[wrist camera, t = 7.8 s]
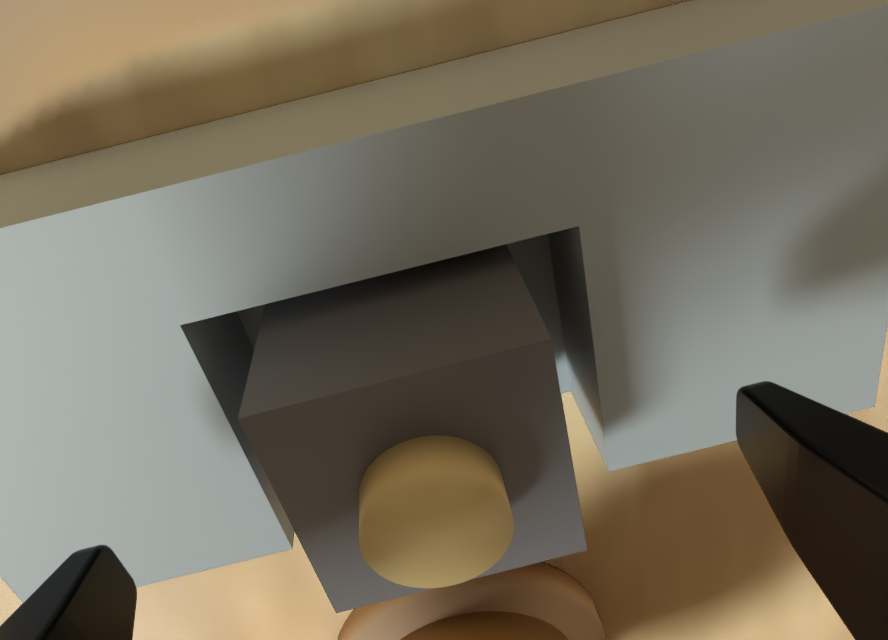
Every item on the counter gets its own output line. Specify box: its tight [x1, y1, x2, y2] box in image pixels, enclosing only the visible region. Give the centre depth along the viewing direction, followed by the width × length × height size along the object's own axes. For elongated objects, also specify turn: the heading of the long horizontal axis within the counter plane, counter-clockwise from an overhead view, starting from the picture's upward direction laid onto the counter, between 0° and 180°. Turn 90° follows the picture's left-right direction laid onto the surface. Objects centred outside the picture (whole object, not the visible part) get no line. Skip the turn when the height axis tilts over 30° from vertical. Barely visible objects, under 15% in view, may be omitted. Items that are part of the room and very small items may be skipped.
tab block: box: [238, 244, 587, 613], centre depth 11 cm, size 4×4×5 cm
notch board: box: [0, 0, 888, 603], centre depth 12 cm, size 16×7×4 cm, turn 102°
